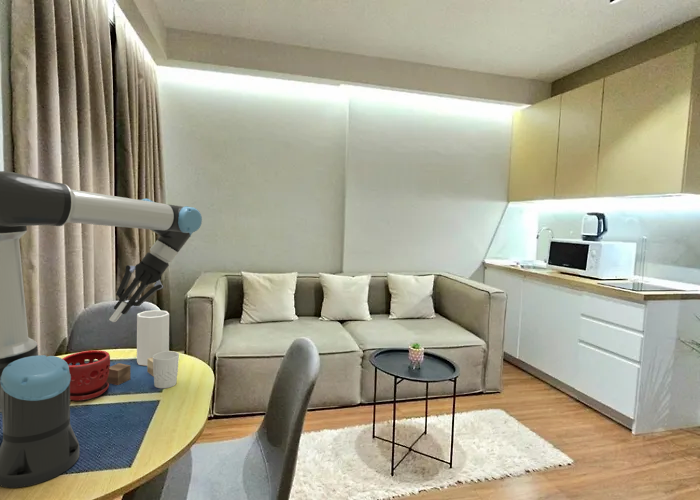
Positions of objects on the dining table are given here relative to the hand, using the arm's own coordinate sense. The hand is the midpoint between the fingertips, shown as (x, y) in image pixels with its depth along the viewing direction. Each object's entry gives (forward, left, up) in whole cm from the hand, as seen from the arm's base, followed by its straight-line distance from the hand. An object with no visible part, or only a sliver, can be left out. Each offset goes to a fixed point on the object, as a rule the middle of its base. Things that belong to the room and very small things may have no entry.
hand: (112, 320), depth 121 cm
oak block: (+17, +3, -23) cm, 29 cm away
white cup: (+13, -8, -23) cm, 28 cm away
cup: (+22, +14, -23) cm, 35 cm away
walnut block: (+5, +6, -23) cm, 24 cm away
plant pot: (-6, +4, -23) cm, 24 cm away
